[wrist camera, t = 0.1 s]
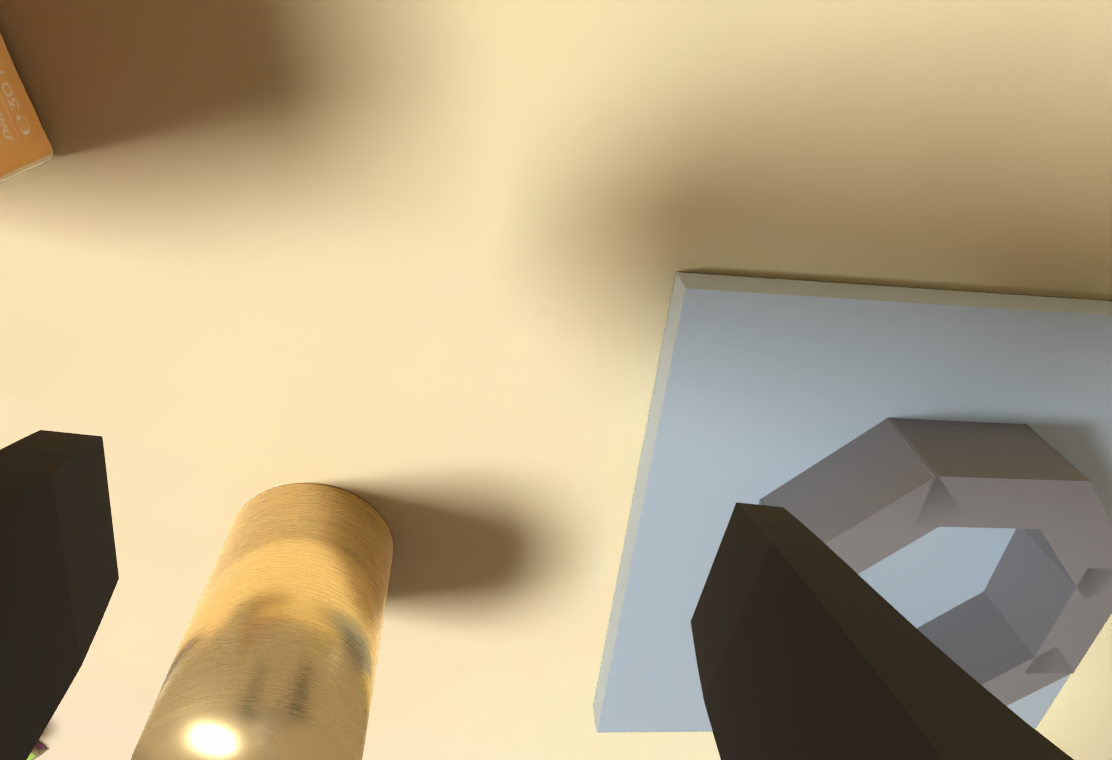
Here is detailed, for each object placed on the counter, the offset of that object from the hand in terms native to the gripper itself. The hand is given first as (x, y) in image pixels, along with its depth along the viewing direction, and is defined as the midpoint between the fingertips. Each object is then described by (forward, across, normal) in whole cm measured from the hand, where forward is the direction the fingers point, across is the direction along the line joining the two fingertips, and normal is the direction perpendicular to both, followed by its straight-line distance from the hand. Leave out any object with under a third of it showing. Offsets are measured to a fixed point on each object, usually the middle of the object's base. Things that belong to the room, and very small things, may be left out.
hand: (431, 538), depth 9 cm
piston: (+10, +3, +10) cm, 14 cm away
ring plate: (+10, -14, +7) cm, 18 cm away
